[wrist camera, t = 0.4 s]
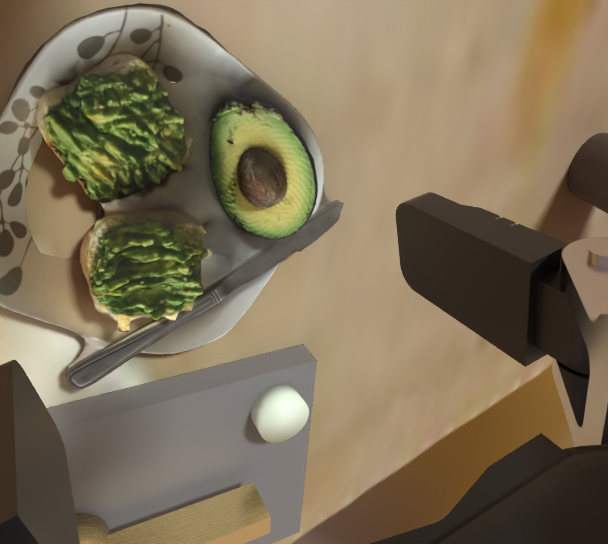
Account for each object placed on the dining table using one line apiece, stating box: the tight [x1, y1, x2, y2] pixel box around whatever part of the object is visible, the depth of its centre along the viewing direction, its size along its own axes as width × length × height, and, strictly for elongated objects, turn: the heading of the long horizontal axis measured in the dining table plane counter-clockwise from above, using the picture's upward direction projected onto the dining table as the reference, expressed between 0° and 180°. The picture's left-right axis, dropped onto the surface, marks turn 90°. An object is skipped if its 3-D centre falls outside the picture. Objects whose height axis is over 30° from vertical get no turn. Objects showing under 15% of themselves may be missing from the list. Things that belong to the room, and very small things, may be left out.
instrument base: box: [47, 344, 317, 544], centre depth 36 cm, size 18×22×4 cm
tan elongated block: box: [75, 483, 271, 544], centre depth 34 cm, size 5×14×4 cm, turn 85°
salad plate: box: [0, 3, 344, 389], centre depth 27 cm, size 19×18×5 cm
